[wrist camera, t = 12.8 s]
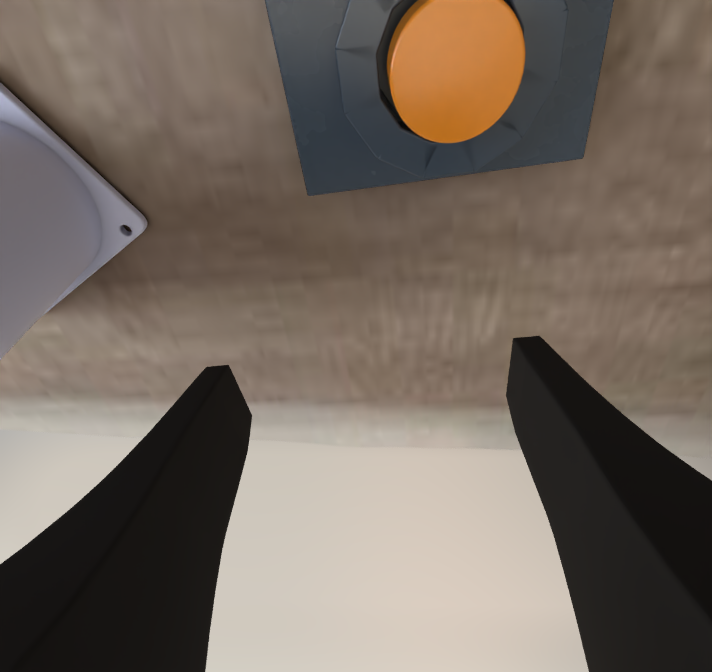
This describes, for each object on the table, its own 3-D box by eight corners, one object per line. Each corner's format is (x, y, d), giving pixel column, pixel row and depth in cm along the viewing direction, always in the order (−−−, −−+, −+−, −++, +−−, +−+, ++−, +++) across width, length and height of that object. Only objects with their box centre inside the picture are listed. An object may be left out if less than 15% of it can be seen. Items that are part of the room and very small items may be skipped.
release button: (392, 135, 14) (395, 152, 13) (380, -2, 12) (383, 0, 10) (503, 119, 14) (519, 134, 12) (514, -27, 11) (534, -26, 10)
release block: (311, 181, 18) (302, 216, 16) (257, -77, 13) (231, -90, 10) (567, 145, 17) (605, 176, 15) (616, -149, 12) (689, -185, 9)
